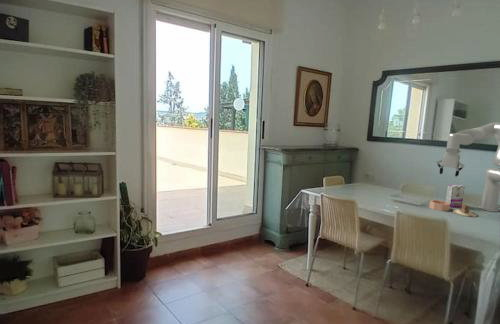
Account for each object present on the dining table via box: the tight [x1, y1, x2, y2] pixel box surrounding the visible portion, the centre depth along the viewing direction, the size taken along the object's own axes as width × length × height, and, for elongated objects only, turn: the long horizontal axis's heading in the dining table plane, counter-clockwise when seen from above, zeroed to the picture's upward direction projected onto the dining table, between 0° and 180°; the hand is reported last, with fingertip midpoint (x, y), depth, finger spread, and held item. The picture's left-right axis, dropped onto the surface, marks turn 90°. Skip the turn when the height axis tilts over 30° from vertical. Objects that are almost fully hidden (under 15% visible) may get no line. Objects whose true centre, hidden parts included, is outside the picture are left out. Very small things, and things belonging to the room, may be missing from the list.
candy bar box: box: [445, 184, 465, 208], centre depth 241 cm, size 11×5×16 cm, turn 105°
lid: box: [452, 204, 478, 218], centre depth 223 cm, size 14×14×6 cm
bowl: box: [428, 199, 451, 212], centre depth 233 cm, size 12×12×5 cm
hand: (448, 175), depth 228 cm, fingers open, 9 cm apart
